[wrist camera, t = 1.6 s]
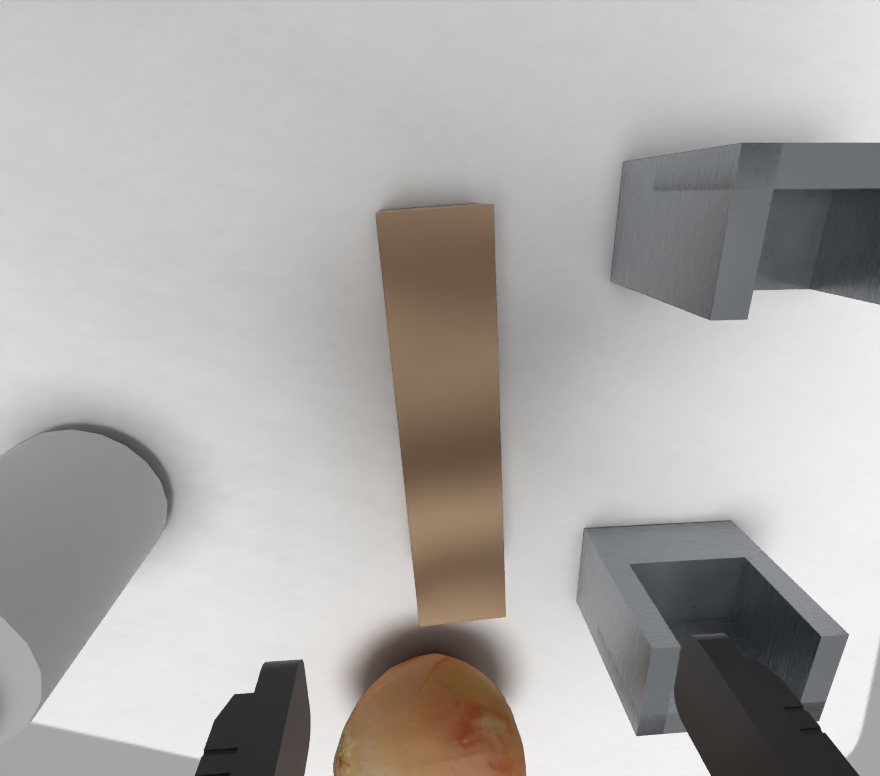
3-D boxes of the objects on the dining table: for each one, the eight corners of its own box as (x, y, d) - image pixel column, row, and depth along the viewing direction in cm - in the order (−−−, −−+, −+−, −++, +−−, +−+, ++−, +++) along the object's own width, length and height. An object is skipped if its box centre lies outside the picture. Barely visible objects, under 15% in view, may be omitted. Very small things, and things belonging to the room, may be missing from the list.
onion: (345, 615, 29) (320, 814, 20) (518, 617, 30) (572, 807, 21) (341, 737, 32) (318, 957, 23) (497, 734, 33) (536, 944, 24)
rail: (379, 209, 22) (375, 213, 17) (472, 203, 22) (493, 204, 17) (415, 555, 28) (419, 626, 24) (487, 547, 28) (505, 616, 24)
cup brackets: (623, 161, 22) (741, 142, 14) (811, 161, 22) (1020, 142, 15) (576, 601, 30) (636, 736, 22) (715, 592, 30) (819, 721, 23)
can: (167, 424, 24) (-30, 620, 13) (182, 555, 27) (26, 813, 16) (-5, 417, 24) (-371, 618, 12) (27, 553, 26) (-253, 822, 15)
